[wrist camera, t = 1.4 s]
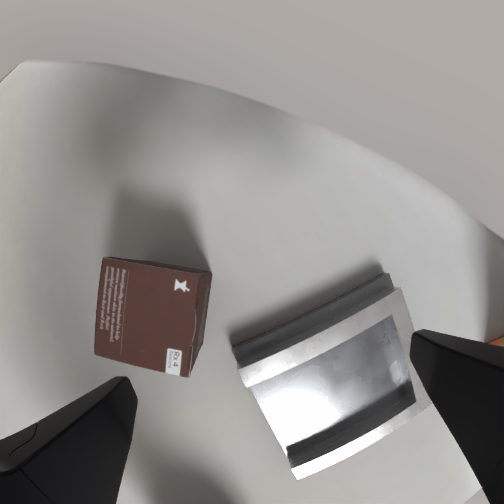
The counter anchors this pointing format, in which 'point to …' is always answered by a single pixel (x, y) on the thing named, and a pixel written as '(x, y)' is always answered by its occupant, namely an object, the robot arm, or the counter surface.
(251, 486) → the counter surface
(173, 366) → the box
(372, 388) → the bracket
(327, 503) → the counter surface
